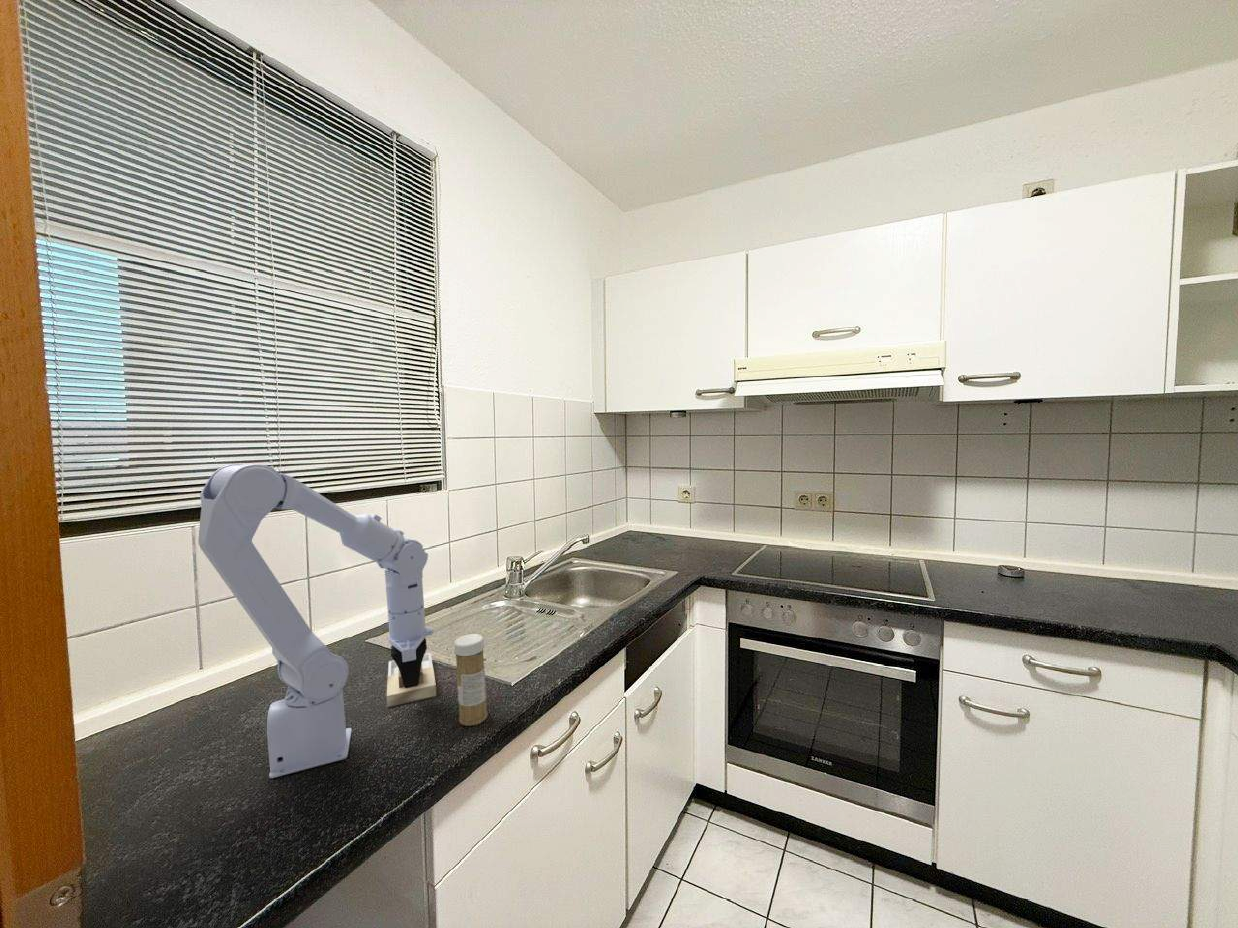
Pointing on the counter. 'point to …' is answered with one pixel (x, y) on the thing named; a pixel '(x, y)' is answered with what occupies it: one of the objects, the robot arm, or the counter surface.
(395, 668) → the box
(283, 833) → the counter surface
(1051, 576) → the counter surface
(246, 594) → the robot arm
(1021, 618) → the counter surface
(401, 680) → the walnut block
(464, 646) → the sprinkles bottle
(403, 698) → the birch board
